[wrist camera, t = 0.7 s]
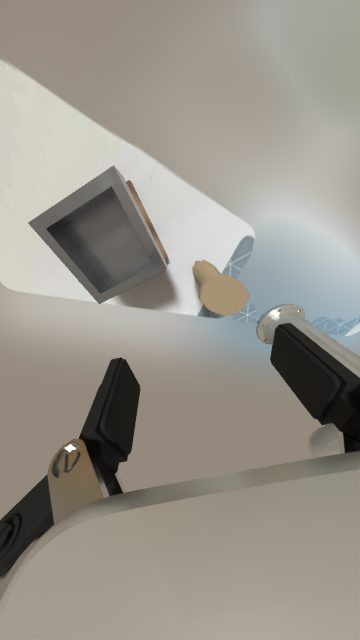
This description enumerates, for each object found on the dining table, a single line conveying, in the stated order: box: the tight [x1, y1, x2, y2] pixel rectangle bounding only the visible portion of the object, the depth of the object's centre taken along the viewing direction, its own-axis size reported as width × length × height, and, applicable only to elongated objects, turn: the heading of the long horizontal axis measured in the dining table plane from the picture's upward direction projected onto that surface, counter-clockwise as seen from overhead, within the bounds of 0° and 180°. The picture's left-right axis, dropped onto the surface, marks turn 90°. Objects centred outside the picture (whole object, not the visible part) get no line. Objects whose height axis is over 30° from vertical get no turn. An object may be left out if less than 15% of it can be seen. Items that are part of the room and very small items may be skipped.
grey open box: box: [29, 166, 167, 304], centre depth 21 cm, size 11×11×4 cm
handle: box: [193, 260, 249, 315], centre depth 26 cm, size 5×6×15 cm
